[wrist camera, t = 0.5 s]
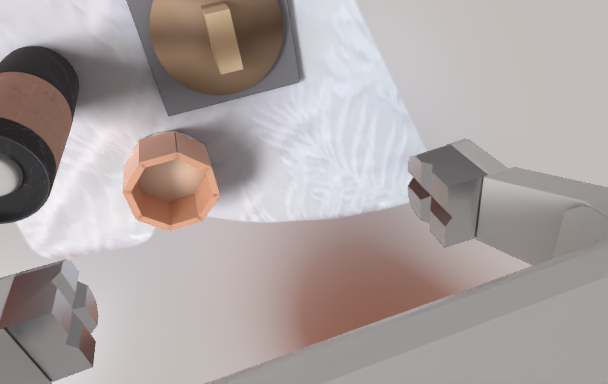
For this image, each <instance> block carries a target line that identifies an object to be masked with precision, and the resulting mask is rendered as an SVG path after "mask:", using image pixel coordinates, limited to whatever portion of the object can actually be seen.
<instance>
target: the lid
mask: <svg viewBox="0 0 608 384" xmlns="http://www.w3.org/2000/svg"><path fill="white" fill-rule="evenodd" d="M149 23H150V36H151V41H152V45H153V48H154V51H155V53H156V55H157V57H158V59H159V61H160V63H161V64H162V66H163V67H164V68H165V70H166V71H167V72H168V73H169V74H170V75H171V76H172V77H173V78H174V79H175V80H177V81H178V82H179V83H180V84H182V85H184V86H185V87H187V88H189V89H191V90H194V91H196V92H199V93H202V94H208V95H218V96H219V95H229V94H235V93H238V92H241V91H243V90H245V89H248V88H250V87H251V86H253V85H254V84H256V83H257V82H258V81H260V80H261V79H262V78H263V77H264V76H265V75H266V74H267V73H268V71H269V70H270V69H271V67H272V66H273V64H274V62H275V61H276V59H277V56H278V54H279V51H280V48H281V44H282V37H283V22H282V15H281V11H280V8H279V5H278V2H277V0H153V3H152V6H151V11H150V18H149Z"/></svg>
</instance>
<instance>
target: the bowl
mask: <svg viewBox="0 0 608 384" xmlns="http://www.w3.org/2000/svg"><path fill="white" fill-rule="evenodd" d="M123 194H124V196H125V198H126V200H127V202H128V204H129V206H130V208H131V210H132V212H133V214H134V216H135V219H137V220H138V221H141V222H144V223H147V224H150V225H153V226H156V227H159V228H162V229H165V230H168V231H169V230H170V231H171V230H175V229H178V228H181V227H185V226H188V225H191V224H194V223H198V222H201V221H202V220H204V219H205V217H206V216H207V214H208V213H209V211H210V210H211V208H212V207H213V205H214V204H215V202H216V201H217V199H218V198H219V196H220V193H219V189H218V185H217V181H216V177H215V173H214V170H213V167H212V164H211V161H210V157H209V154H208V151H207V148H206V145H205V144H203V143H201V142H199V141H198V140H196V139H195V138H193V137H191V136H189V135H187V134H184V133H180V132H177V131H167V132H160V133H156V134H153V135H150V136H148V137H146V138H144V139H140V140H139V141H138V143H137V145H136V146H135V147H134V149H133V150H132V152H131V154H130V156H129V159H128V161H127V163H126V164H125V166H124V179H123Z"/></svg>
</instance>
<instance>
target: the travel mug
mask: <svg viewBox="0 0 608 384" xmlns="http://www.w3.org/2000/svg"><path fill="white" fill-rule="evenodd" d="M78 90H79V82H78V78H77V75H76V73H75V71H74V69H73V67H72V66H71V65H70V63H69V62H68V61H67V60H66V59H65V58H63V57H62V56H61V55H59V54H57V53H56V52H54V51H52V50H49V49H46V48H42V47H23V48H19V49H17V50H15V51H13V52H11V53H10V54H9V55H7V56H6V57H5V58H4V59H3V60H2V61H1V62H0V224H4V223H11V222H16V221H19V220H22V219H25V218H27V217H29V216H31V215H32V214H34V213H35V212H37V211H38V210H39V209H40V208H41V207H42V206H43V205H44V203H45V202H46V201H47V199H48V197H49V195H50V192H51V189H52V186H53V183H54V179H55V176H56V173H57V170H58V167H59V164H60V161H61V157H62V154H63V151H64V148H65V145H66V142H67V139H68V135H69V132H70V129H71V125H72V121H73V116H74V111H75V107H76V102H77V97H78Z"/></svg>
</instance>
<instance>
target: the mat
mask: <svg viewBox="0 0 608 384" xmlns="http://www.w3.org/2000/svg"><path fill="white" fill-rule="evenodd" d="M126 1H127V4H128V6H129V9H130V12H131V15H132V17H133V20H134V23H135V26H136V28H137V31H138V34H139V37H140V39H141V42H142V45H143V48H144V50H145V53H146V56H147V59H148V61H149V64H150V67H151V70H152V72H153V75H154V78H155V81H156V83H157V86H158V89H159V92H160V94H161V97H162V100H163V103H164V105H165V108H166V111H167V114H168V116H172V115H176V114H180V113H184V112H187V111H191V110H195V109H199V108H203V107H207V106H210V105H214V104H218V103H222V102H226V101H230V100H233V99H237V98H241V97H245V96H249V95H253V94H256V93H260V92H264V91H268V90H272V89H276V88H279V87H283V86H287V85H291V84H295V83H299V82H300V81H299V75H298V68H297V62H296V55H295V49H294V43H293V36H292V30H291V24H290V17H289V11H288V5H287V0H277V2H278V5H279V8H280V11H281V15H282V22H283V37H282V44H281V48H280V51H279V54H278V56H277V59H276V61H275V62H274V64H273V66H272V67H271V69H270V70H269V71H268V73H267V74H266V75H265V76H264V77H263V78H262V79H261V80H260V81H258V82H257V83H256V84H254V85H253V86H251V87H250V88H248V89H245V90H243V91H241V92H238V93H235V94H229V95H219V96H218V95H208V94H202V93H199V92H196V91H194V90H191V89H189V88H187V87H185V86H184V85H182V84H180V83H179V82H178V81H177V80H175V79H174V78H173V77H172V76H171V75H170V74H169V73H168V72H167V71H166V70H165V68H164V67H163V66H162V64H161V63H160V61H159V59H158V57H157V55H156V53H155V51H154V48H153V45H152V41H151V36H150V23H149V18H150V11H151V6H152V3H153V0H126Z"/></svg>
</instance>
